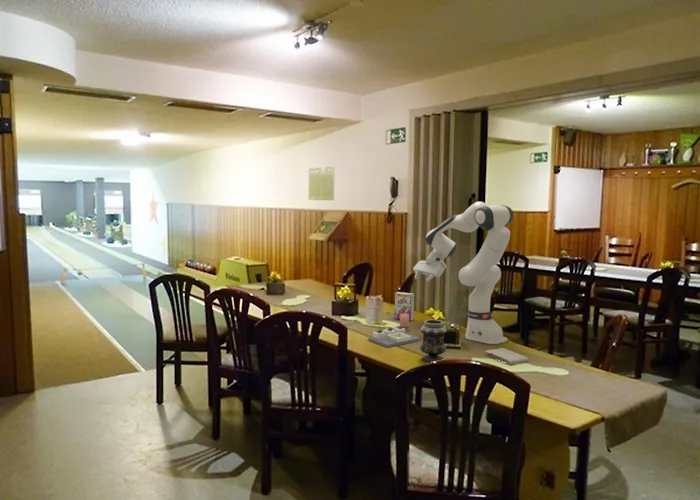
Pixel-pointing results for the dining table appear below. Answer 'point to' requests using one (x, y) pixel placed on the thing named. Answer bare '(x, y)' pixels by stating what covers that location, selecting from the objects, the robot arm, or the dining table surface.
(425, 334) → the apothecary jar
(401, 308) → the candy bar box
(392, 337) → the board
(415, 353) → the dining table surface
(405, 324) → the lockout cap
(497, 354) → the washcloth
